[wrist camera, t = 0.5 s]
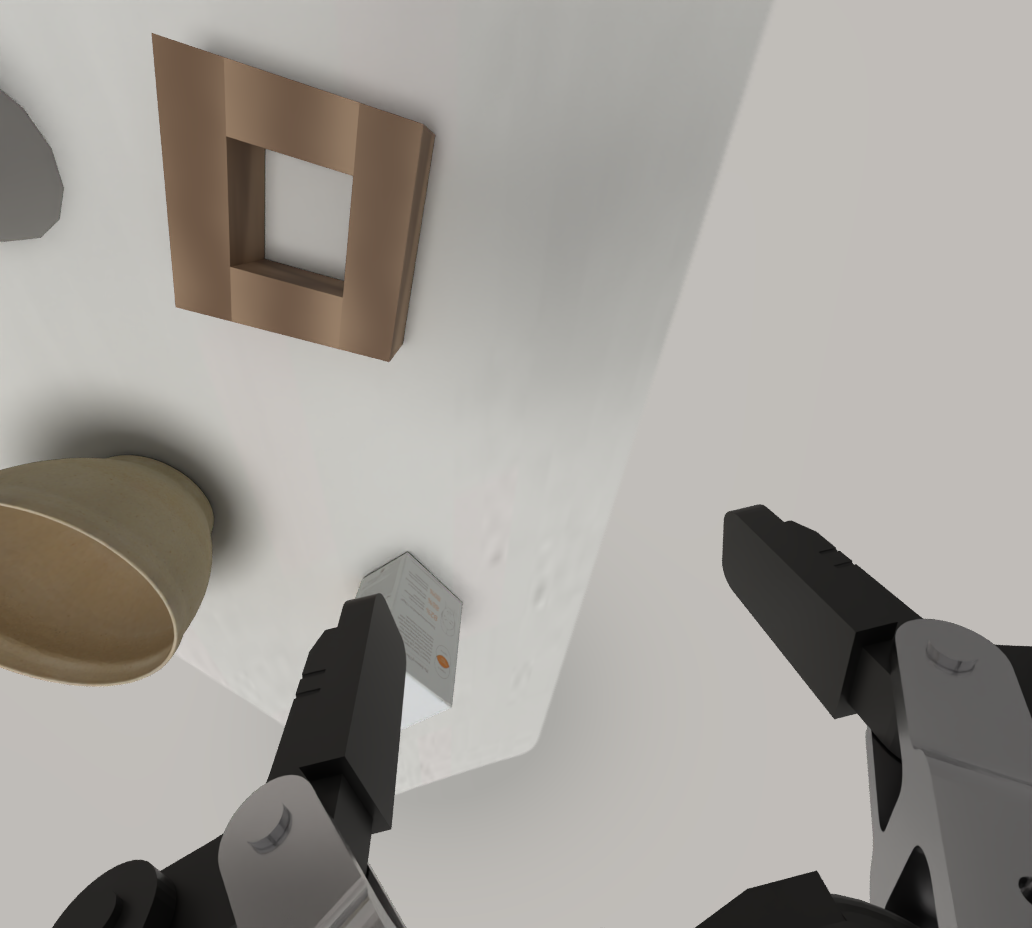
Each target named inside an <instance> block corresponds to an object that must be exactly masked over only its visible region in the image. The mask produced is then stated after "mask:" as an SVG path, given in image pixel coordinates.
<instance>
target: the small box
mask: <svg viewBox="0 0 1032 928" xmlns="http://www.w3.org/2000/svg"><path fill="white" fill-rule="evenodd" d="M377 593H381V594H382V595H383V596H384V598H385V600H386V602H387V605H388V607H389V609H390V611H391V614H392V616H393V618H394V621H395V623H396V625H397V627H398V630H399V632H400V634H401V637H402V639H403V642H404V646H405V652H406V677H405V687H404V698H403V709H402V720H401V730H403V729H405V728H407V727H410V726H412V725H414V724H416V723H419V722H421V721H423V720H425V719H428V718H430V717H432V716H434V715H436V714H439V713H441V712H443V711H445V710H448V709H450V708H451V707H452V701H453V692H454V682H455V672H456V663H457V653H458V643H459V633H460V623H461V613H462V602H461V601H460V600H459V599H458V598H456V597H455V596H454V595H453V594H452V593H451V592H450V591H449V590H448V589H447V588H446V587H445V586H444V585H443V584H441V583H440V582H439V581H438V580H437V579H436V578H435V577H434V576H433V575H432V574H431V573H430V572H429V571H427V570H426V569H425V568H424V567H423V566H422V565H421V564H420V563H419V562H418V561H417V560H416V559H414V558H413V557H412V556H411V555H410V554H409V553H408V552H407V553H405V554H404V555H402V556H400V557H399V558H397V559H395V560H393V561H392V562H390V563H388V564H387V565H385V566H383V567H382V568H380V569H378V570H377V571H375V572H373V573H372V574H370V575H368V576H367V577H365V578H363V579H362V581H361V584H360V587H359V589H358V592H357V595H356V598H360V597H364V596H369V595H373V594H377ZM356 598H355V599H356Z"/></svg>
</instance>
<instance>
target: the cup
mask: <svg viewBox="0 0 1032 928" xmlns="http://www.w3.org/2000/svg"><path fill="white" fill-rule="evenodd" d="M63 191H64V187H63V184H62V180H61V177H60V174H59V171H58V168H57V165H56V161H55V158H54V155H53V152H52V149H51V147H50V146H49V144H48V143H47V142H46V140H45V139H44V137H43V136H42V134H41V133H40V132H39V130H38V129H37V127H36V126H35V124H34V123H33V121H32V120H31V119H30V117H29V116H28V114H27V113H26V111H25V110H24V109H23V108H22V107H21V106H20V105H19V104H17V103H16V102H15V101H14V100H13V99H11V98H10V97H9V96H8V95H6V94H5V93H4V92H3V91H2V90H0V242H5V241H16V240H24V239H33V238H41V237H42V236H43V235H44V234H45V233H46V232H47V231H48V230H49V229H50V228H51V227H52V226H53V225H54V224H55V223H56V222H57V221H58V220H59V219H60V213H61V205H62V198H63Z"/></svg>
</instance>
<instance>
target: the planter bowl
mask: <svg viewBox="0 0 1032 928" xmlns="http://www.w3.org/2000/svg"><path fill="white" fill-rule="evenodd" d="M213 525H214V516H213V512H212V508H211V506H210V503H209V501H208V499H207V498H206V496H205V495H204V494H203V492H202V491H201V490H200V489H199V487H198V486H197V485H196V484H195V483H194V482H193V481H192V480H190V479H189V478H188V477H187V476H185V475H184V474H182V473H181V472H179V471H178V470H176V469H174V468H172V467H171V466H169V465H166V464H164V463H162V462H159V461H157V460H154V459H150V458H146V457H141V456H134V455H119V456H113V457H109V458H106V459H102V458H67V459H55V460H47V461H40V462H33V463H28V464H23V465H19V466H14V467H10V468H6V469H3V470H0V667H1V668H3V669H6V670H9V671H12V672H15V673H18V674H22V675H25V676H29V677H32V678H36V679H40V680H45V681H50V682H55V683H61V684H67V685H77V686H113V685H121V684H126V683H131V682H135V681H138V680H140V679H143V678H145V677H148V676H150V675H152V674H154V673H155V672H157V671H158V670H160V669H161V668H162V667H163V666H165V665H166V663H167V662H168V661H169V660H170V659H171V657H172V656H173V655H174V653H175V652H176V650H177V648H178V646H179V645H180V642H181V640H182V637H183V634H184V633H185V631H186V630H187V628H188V627H189V625H190V623H191V622H192V620H193V618H194V617H195V615H196V613H197V611H198V609H199V607H200V605H201V602H202V600H203V598H204V595H205V592H206V589H207V585H208V582H209V577H210V572H211V565H212V541H211V535H210V534H211V532H212V529H213Z"/></svg>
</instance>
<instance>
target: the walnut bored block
mask: <svg viewBox="0 0 1032 928" xmlns="http://www.w3.org/2000/svg"><path fill="white" fill-rule="evenodd" d="M152 43H153V54H154V66H155V77H156V88H157V100H158V111H159V123H160V134H161V145H162V157H163V168H164V179H165V191H166V202H167V214H168V225H169V236H170V248H171V259H172V270H173V282H174V293H175V305H176V307H177V308H181V309H185V310H189V311H193V312H197V313H201V314H205V315H209V316H212V317H216V318H220V319H224V320H228V321H232V322H236V323H240V324H244V325H247V326H251V327H255V328H259V329H263V330H267V331H271V332H275V333H279V334H282V335H286V336H290V337H294V338H298V339H302V340H306V341H310V342H314V343H317V344H321V345H325V346H329V347H333V348H337V349H341V350H345V351H349V352H352V353H356V354H360V355H364V356H368V357H372V358H376V359H380V360H384V361H387V362H390V360H391V359H392V358H393V356H394V355H395V354H396V352H397V351H398V350H399V348H400V347H401V346H402V344H403V339H404V333H405V326H406V320H407V313H408V307H409V300H410V294H411V287H412V281H413V275H414V268H415V262H416V255H417V249H418V242H419V236H420V229H421V223H422V216H423V210H424V204H425V197H426V191H427V184H428V178H429V171H430V165H431V158H432V152H433V146H434V139H435V134H434V133H432V132H431V131H430V130H429V129H428V128H427V127H426V126H425V125H424V124H421V123H418V122H415V121H412V120H409V119H406V118H403V117H400V116H397V115H395V114H392V113H389V112H386V111H383V110H380V109H377V108H374V107H371V106H368V105H365V104H362V103H359V102H356V101H353V100H350V99H347V98H344V97H341V96H338V95H335V94H332V93H329V92H326V91H323V90H320V89H317V88H314V87H311V86H308V85H305V84H302V83H299V82H296V81H293V80H290V79H287V78H284V77H281V76H278V75H275V74H272V73H269V72H266V71H263V70H260V69H257V68H254V67H251V66H248V65H246V64H243V63H240V62H237V61H234V60H231V59H228V58H225V57H222V56H219V55H216V54H213V53H210V52H207V51H204V50H201V49H198V48H195V47H192V46H189V45H186V44H183V43H180V42H177V41H174V40H171V39H168V38H165V37H162V36H159V35H156V34H153V33H152ZM265 149H269V150H272V151H275V152H278V153H281V154H285V155H288V156H291V157H294V158H297V159H301V160H304V161H307V162H310V163H314V164H317V165H320V166H323V167H326V168H330V169H333V170H336V171H339V172H342V173H346V174H349V175H352V176H353V185H352V197H351V208H350V220H349V232H348V243H347V255H346V267H345V278H344V281H342V280H338V279H335V278H331V277H328V276H324V275H320V274H317V273H313V272H310V271H306V270H302V269H299V268H295V267H292V266H288V265H284V264H281V263H277V262H274V261H270V260H267V259H264V250H265Z"/></svg>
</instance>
